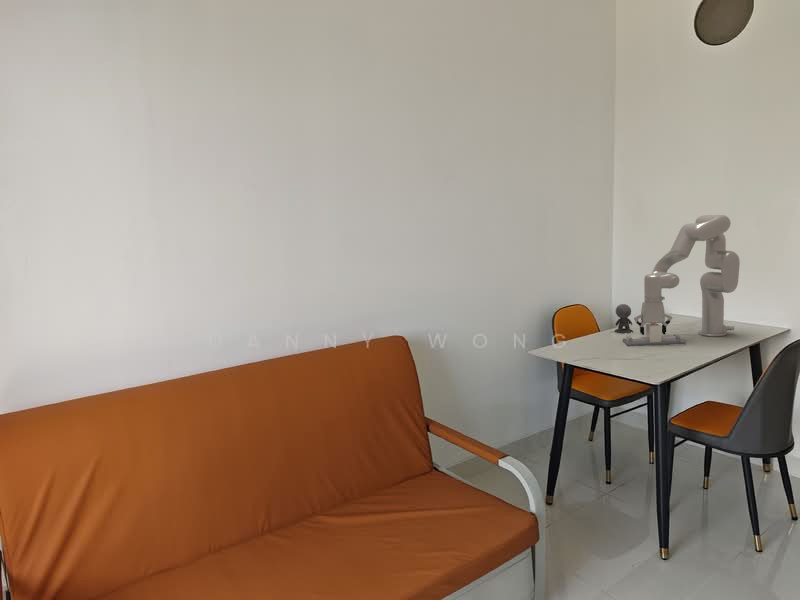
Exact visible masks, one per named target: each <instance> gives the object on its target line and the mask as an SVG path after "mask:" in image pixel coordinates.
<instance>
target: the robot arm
mask: <svg viewBox="0 0 800 600" xmlns="http://www.w3.org/2000/svg"><path fill="white" fill-rule="evenodd" d="M731 224H732V223H731V220H730V218H729V217H728V215H727V216H726V215H724V214H708V215H699V216H698V217H697V218H696V219H695V222H693V223H692V222H691V223H686V224H683V225H682V226H681V228H680V230H679V231H678V233H677V236H676V237H675V240H674V242H673V244H672V246H671V248H670V250H669V251H668V252H667V253H666V254H664V256H662V257H661V258H660V259H659V260H658V261H657V262H656V264H655V265H654V267H653V269H652V271H651V273H650V274H645V275H644V277H643V278H644V279H643V280H644V285H643V286H644V293H643V294H644V296H643V297H644V301H643V302H642V304H641V310H640V312H641V313H640V314H639V315H637V316H635V317H634V318H633V320H634V321H635V323H636V324H637V325H638V326H639V333H640V334H641V335H642V336H645V327H644V326H646V323H657V324H662V325H661V334H662V335H666V333H667V326H668V325H669V324H670V323H671V322H672V320H673V317H672V316H671V315H669V314H667V313H665V305H664V303H663V300H665V299H666V298H665V296H663V295H662V289H670V290H671V289H674V288H676V287H678V286H679V283H680V278H679V277H680V276H678V275H677V274H676V273H673V272H668V270H670V269H671V267H672V266H674V265H675V264H677V263H679V262H682V261H684V260H686V259H688V258H689V256H690V254H691V253H692V249H693V247H694V246H695V243H696V242H705V257H704V264H705V266H706V267H707V268H708V269H711V270H718V271H708V272H704V273H703V274H702V276H701V277H700V279H699V284H700V285H699V286H700V290H701V301H702V302H701V304H702V305H701V329H700V330H698V332H697V333H698V334H699V335H701V336H706V337H725V336H727V335H728V331H735V326H734V325H733V326H730V325H725V323H724V315H725V312H724V311H725V310H724V309H725V299H724V295H723V293H726V294H731V293H732V292H734V291H736V290H737V288H738V284H739V276H740V266H741V265H740V264H741V263H740V261H741V260H740V256H739V255H738V254H737V253H736V252H734V250H727V249H726V248H727V247H726V246H727V243H726V242H727V239H726V235H725V234H724V233H726V232H727V231H728V230H729V228H730V227H731ZM666 318H667V320H666ZM639 319H640V321H639Z"/></svg>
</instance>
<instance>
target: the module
mask: <svg viewBox="0 0 800 600" xmlns="http://www.w3.org/2000/svg"><path fill="white" fill-rule="evenodd" d="M661 336H662V325H660V324H659V323H646V324H645V337H648V338H649V342H661Z"/></svg>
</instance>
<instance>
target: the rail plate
mask: <svg viewBox="0 0 800 600" xmlns="http://www.w3.org/2000/svg"><path fill="white" fill-rule="evenodd" d="M625 337H626V338H622V342H623V341H624V342H625V343H626V344H625V343H624V342H623V343H624V344H625V345H626V346H627V347H642V346H643V345H651V346H670V345H669V344H685V345H686V341H684V340H683V339H681V335H680V334H678V333H673V335H661V342H649V338H648V337H646V336H631V335H626V336H625ZM643 347H644V346H643Z"/></svg>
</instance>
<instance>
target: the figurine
mask: <svg viewBox="0 0 800 600" xmlns="http://www.w3.org/2000/svg"><path fill="white" fill-rule="evenodd" d="M615 315H616V316H617V317H618V318H619V319H618V320H617V321H616V322H615V326H616V327H617V326H618V327H617V328H616V329H615V330H614V332H615V333H616V334H624V333H627V334H631V332H632V333H634V331H633V329H631V328H630V326H633V323H632V321H631V319H629V317H630V316H631V315H632V309H631V307H630V306H629V305H628V304H625V303H621V304H618V305H617V307H616V308H615Z"/></svg>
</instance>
